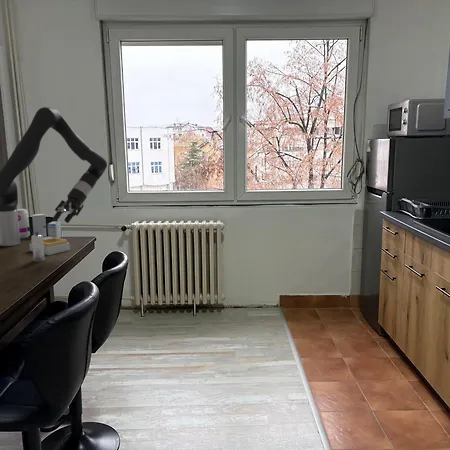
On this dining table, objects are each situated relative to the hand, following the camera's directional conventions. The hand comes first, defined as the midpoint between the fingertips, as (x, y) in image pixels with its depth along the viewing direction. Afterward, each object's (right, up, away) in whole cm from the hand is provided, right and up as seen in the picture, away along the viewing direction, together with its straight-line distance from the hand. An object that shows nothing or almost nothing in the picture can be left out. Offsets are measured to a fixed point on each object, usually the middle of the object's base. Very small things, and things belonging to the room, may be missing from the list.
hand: (60, 220), depth 187 cm
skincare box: (-27, -8, +42) cm, 51 cm away
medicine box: (-17, -9, +36) cm, 41 cm away
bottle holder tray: (-9, -14, +11) cm, 20 cm away
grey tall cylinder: (-6, -17, -7) cm, 19 cm away
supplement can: (-37, -8, +42) cm, 56 cm away
